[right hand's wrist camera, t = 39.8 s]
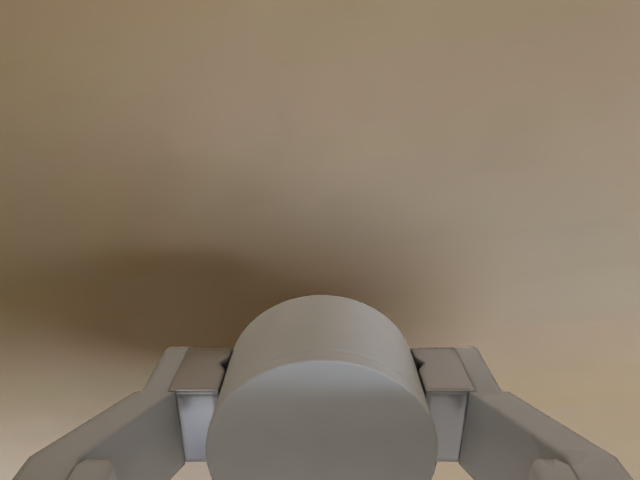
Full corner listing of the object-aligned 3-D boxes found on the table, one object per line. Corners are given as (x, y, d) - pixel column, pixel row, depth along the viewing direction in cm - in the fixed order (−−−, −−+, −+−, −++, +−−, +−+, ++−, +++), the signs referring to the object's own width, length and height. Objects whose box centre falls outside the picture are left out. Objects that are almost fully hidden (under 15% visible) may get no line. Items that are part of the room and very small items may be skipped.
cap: (256, 270, 9) (237, 331, 7) (443, 324, 10) (477, 397, 8) (210, 421, 11) (183, 511, 9) (375, 462, 11) (389, 557, 9)
